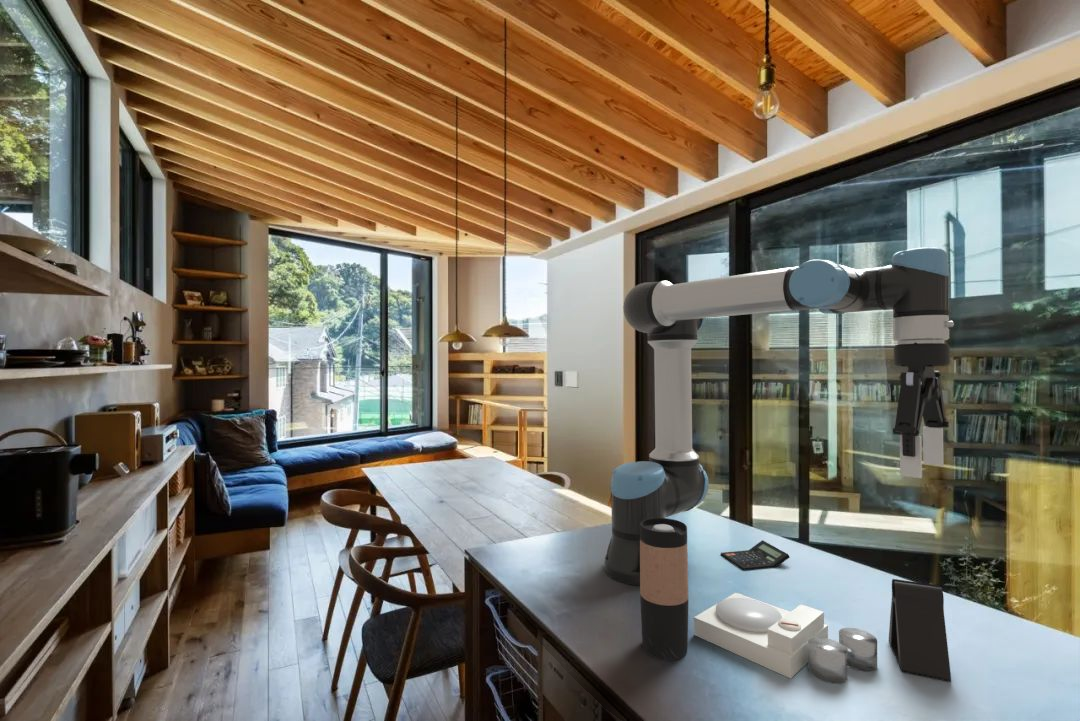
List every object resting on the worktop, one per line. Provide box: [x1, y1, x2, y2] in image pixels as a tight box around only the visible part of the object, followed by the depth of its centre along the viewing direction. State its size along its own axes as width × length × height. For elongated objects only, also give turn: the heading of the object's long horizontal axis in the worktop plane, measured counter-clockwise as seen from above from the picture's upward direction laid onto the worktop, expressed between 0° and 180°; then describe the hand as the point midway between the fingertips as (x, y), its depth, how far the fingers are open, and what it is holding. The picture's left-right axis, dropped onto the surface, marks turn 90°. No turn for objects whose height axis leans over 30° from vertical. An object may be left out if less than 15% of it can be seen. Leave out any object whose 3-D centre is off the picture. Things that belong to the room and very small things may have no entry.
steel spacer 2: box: [838, 627, 878, 673], centre depth 78 cm, size 5×5×4 cm
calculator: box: [720, 539, 791, 571], centre depth 119 cm, size 9×12×3 cm
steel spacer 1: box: [807, 637, 848, 684], centre depth 76 cm, size 5×5×4 cm
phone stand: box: [888, 578, 952, 683], centre depth 78 cm, size 9×6×12 cm, turn 156°
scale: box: [693, 592, 829, 679], centre depth 85 cm, size 16×14×6 cm
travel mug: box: [639, 517, 689, 661], centre depth 83 cm, size 8×8×20 cm
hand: (922, 470), depth 85 cm, fingers open, 13 cm apart
